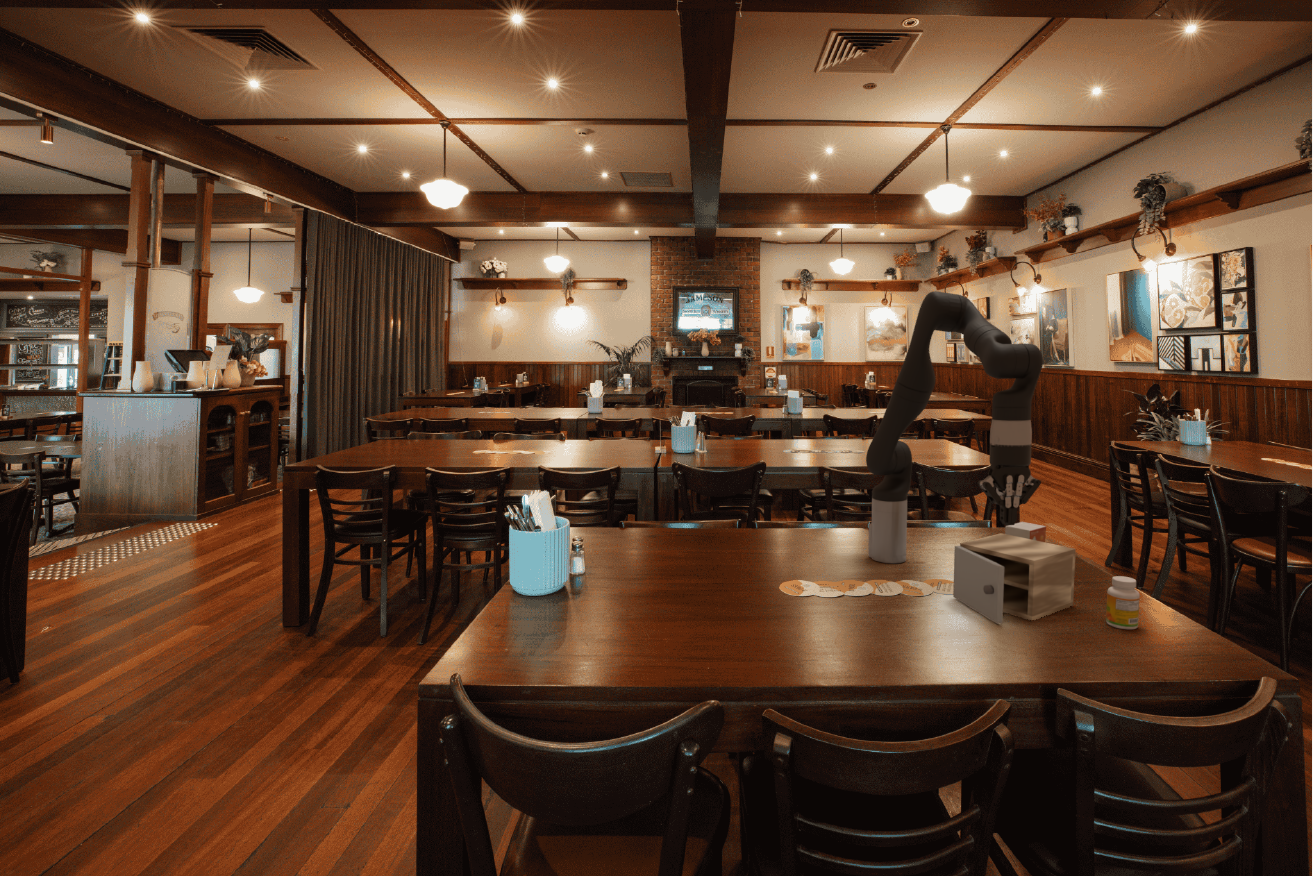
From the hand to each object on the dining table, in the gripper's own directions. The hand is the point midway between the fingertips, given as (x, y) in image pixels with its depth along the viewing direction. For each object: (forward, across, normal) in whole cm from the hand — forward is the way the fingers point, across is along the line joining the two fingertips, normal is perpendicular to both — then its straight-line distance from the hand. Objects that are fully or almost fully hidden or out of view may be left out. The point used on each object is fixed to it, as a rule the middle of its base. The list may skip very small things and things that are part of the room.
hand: (1007, 524), depth 136 cm
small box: (+21, -23, -27) cm, 41 cm away
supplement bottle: (+21, -22, +6) cm, 31 cm away
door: (+20, +4, -6) cm, 21 cm away
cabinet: (+20, -9, -10) cm, 24 cm away
